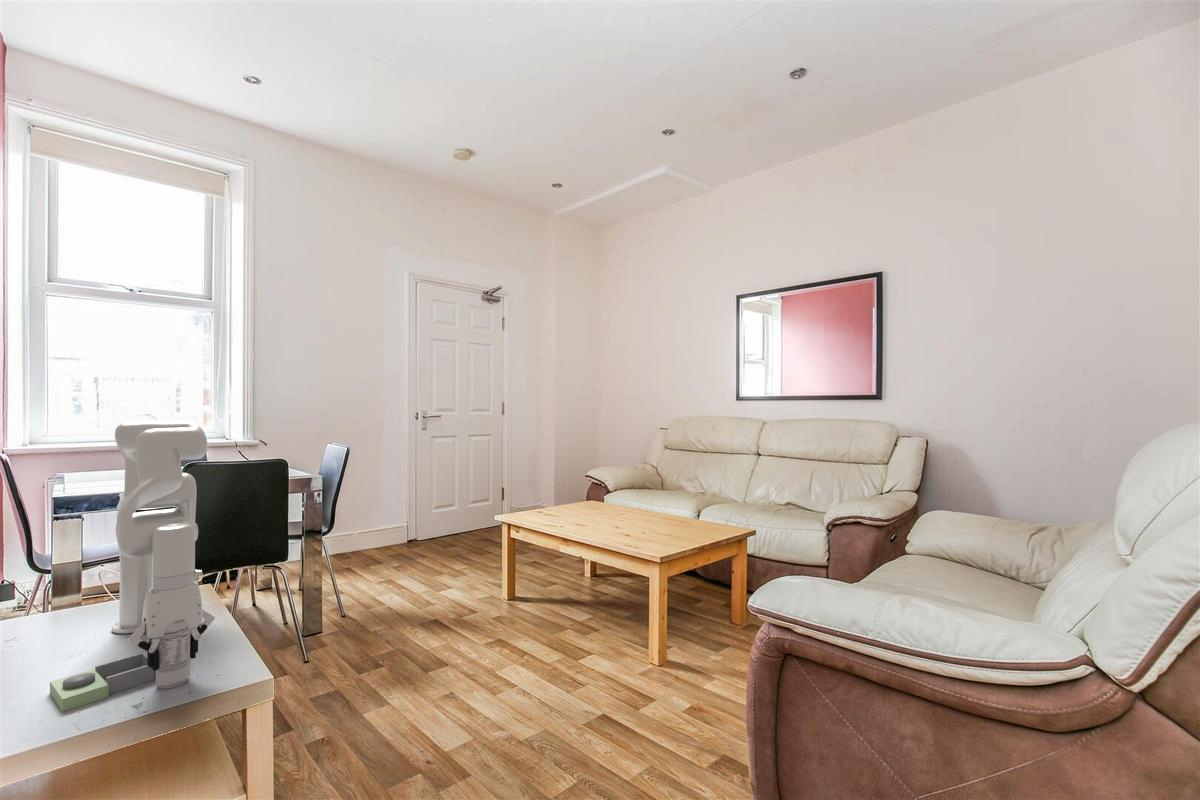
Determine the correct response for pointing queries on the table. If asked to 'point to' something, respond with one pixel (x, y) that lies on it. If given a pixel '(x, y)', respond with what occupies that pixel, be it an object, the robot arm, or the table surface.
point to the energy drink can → (174, 655)
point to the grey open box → (101, 681)
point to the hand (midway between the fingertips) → (173, 662)
